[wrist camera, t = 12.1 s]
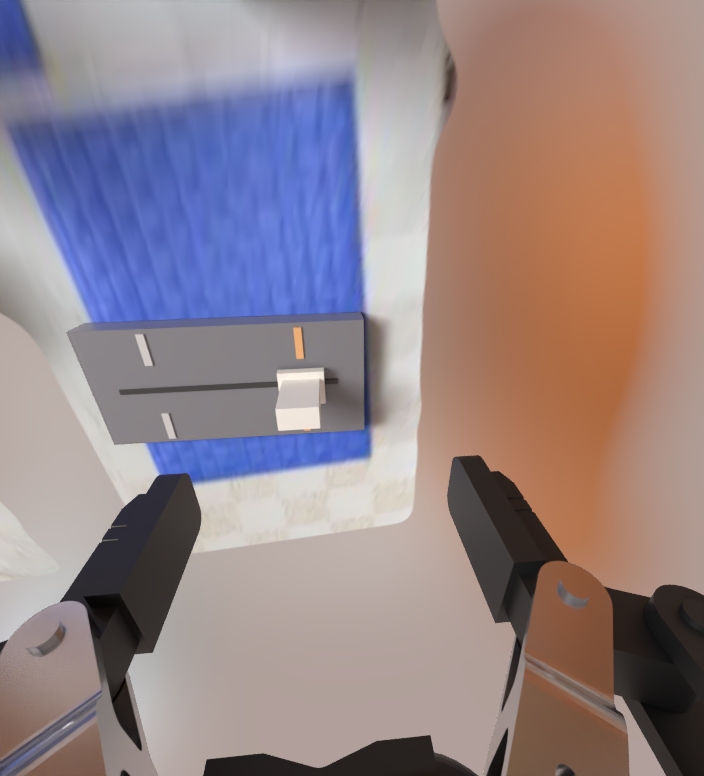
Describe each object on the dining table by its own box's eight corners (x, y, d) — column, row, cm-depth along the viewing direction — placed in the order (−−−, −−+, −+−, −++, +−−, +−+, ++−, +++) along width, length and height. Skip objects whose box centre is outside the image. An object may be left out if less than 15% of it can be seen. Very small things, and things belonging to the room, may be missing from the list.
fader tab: (277, 369, 37) (268, 402, 31) (323, 367, 38) (323, 399, 32) (281, 401, 39) (274, 437, 33) (325, 399, 40) (326, 434, 33)
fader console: (84, 323, 37) (65, 332, 34) (361, 312, 39) (363, 320, 36) (127, 430, 44) (113, 445, 41) (361, 416, 45) (364, 430, 43)
